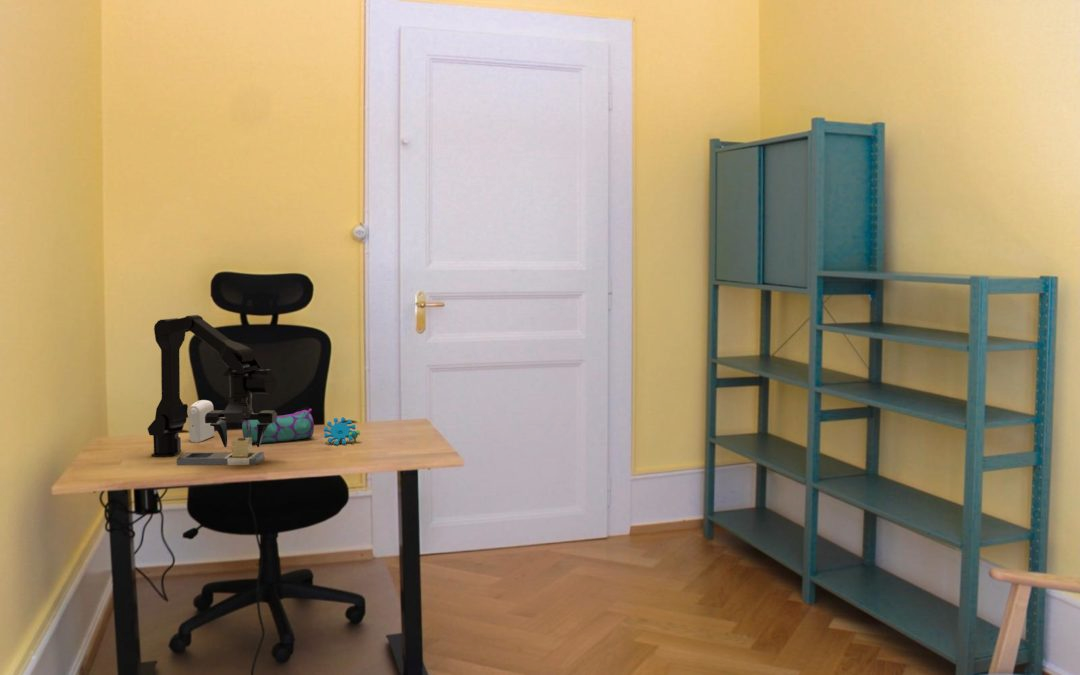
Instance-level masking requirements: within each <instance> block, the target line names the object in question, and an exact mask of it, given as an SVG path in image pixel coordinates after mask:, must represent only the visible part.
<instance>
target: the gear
mask: <svg viewBox="0 0 1080 675" xmlns="http://www.w3.org/2000/svg"><path fill="white" fill-rule="evenodd" d="M338 421H339V418H338V417H334V418H333V422H334V423H333V425H332V421H331V420H329V421H327V422H326V423H327V424H326V425H327V426H328V427H330V429H329V428H328V427H327V426H324V428H323V431H324V434H323V437H324V438H325V439H327V442H328V443H329V444H331V443H332V442H334V443H333V444H334V446H339V444H340V442H341V444H342V445H347V440H346V438H347V439H348V441H349V442H352V441H353V442H357V438H358V436H360V435H361V432H360V431H361V430H356V428H357V427H356V424H353V421H352V420H351V419H348V420H347V421H346V417H344V416H342V417H340V421H339V422H338ZM351 429H352V430H351Z"/></svg>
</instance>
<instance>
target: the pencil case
mask: <svg viewBox="0 0 1080 675" xmlns="http://www.w3.org/2000/svg"><path fill="white" fill-rule="evenodd" d="M311 412H312V408H309V409H308V410H307V409H303V410H300V411H296V412H294V413H289V414H284V415H277V420H276V421H274V422H273V423H271V424H270V425H268V426H267V428H266V430H265V433H264V435H263V438H262V441H261V444H265V443H269V444H270V443H281V442H289V441H290V442H291V441H296V440H302V439H303V440H304V439H311V438H313V435H314V430H315V429H314V428H315V424H314V418H313V416H312V414H311ZM259 423H260V422H259V421H258V420H243V422H241V427H242V428H241V429H242V438H252V444H257V433H258V428H257V424H259Z"/></svg>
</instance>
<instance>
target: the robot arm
mask: <svg viewBox="0 0 1080 675" xmlns="http://www.w3.org/2000/svg"><path fill="white" fill-rule="evenodd" d="M153 331H154V332H153V333H154V339H155V342H156V344H157V345H158V347H159V349H160V363H161V364H160V368H161V369H160V371H161V372H160V373H161V374H160V376H161V378H160V379H161V380H160V381H161V382H160V383H161V399H160V402H159V403H158V404H157V407H156V410H155V417H154V420H153V421H152V422H151V423H150V424H149V426H147V432H148V434H149V436H153V452H152V453H151V456H152V457H174V456H176V455H178V454H179V453H181V452H182V447H181V444H182V443H181V437H180V436H179V432H183V428H184V425H185V424H186V423H187V419H189V413H188V410H189V409H188V408H189V406H188V404H187V403H184V402H183V401H182V399H181V393H180V392H181V389H180V387H181V386H180V385H181V384H180V382H181V381H180V379H181V378H180V375H181V372H180V370H181V369H180V366H181V365H180V349H181V347H182V346H183V344H184V342H185V337H186V333H189V332H191V333H192V334H193V335H194V336H196V337H198V338H199V339H200V340H201V341H203V342H204V343H205V344H206V345H208V346H209V347H211V348H212V349H213V350H214V351H216V352H217V353H218V354H219V358H220V360H221V361H222V362H223V363H224V364H225V365H226V367H227V370H225V371H224V372H222V376H224V377H229V397H228V404H227V406H225V409H224V410H219V409H217V410H216V409H213V410H212V411H210V412H208V413H207V414H206V415H205V423H211V424H210V426H214V429H216V431H217V433H218V435H219V437H220V440H221V442H222V444H223V447H224V448H227V447H228V431H227V430H228V428H227V423H228V424H229V423H230V424H231V423H239V424H240V423H241V424H242V422H243V420H258V421H259V422H260V423H259V424H257V428H258V433H257V443H256V446H257V448H260V446H261V444H262V443H261V441H262V438H263V435H264V433H265V430H266V428H267V426H268V425H270V424H271V423H273V422H274V421H276V420H277V416H278V413H277V412H276V411H275V410H273V409H272V410H270V409H269V410H267V409H266V410H265V409H263V410H260V412H258V413H256V412H255V413H254V410H253V406H252V404H253V403H252V398H253V394H259V395H260V394H262V395H272V394H274V392H276V389H277V385H278V381H277V380H278V379H277V380H276V376H275V374H273V371H272V369H269V368H268V369H263V368H262V366H261V365H260V362H258V360H257V358H256V357H255V355H254V350H253V349H252V348H251V347H249V346H247V345H246V344H245V345H244V344H243V343H240V342H238V341H237V342H236V341H233V340H232V339H229V338H228V337H227V336H226V335H224V334H223V333H221V332H220V331H219V330H218V329H216V328H215V327H213V325H211V324H210V323H209V322H207V321H205V320H204V319H203V317H202V316H200V315H199V314H194V315H193V314H192V315H186V316H185V317H181V318H179V317H175V318H163V319H159V320H157V321H156V322H155V324H154V327H153Z"/></svg>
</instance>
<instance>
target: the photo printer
mask: <svg viewBox="0 0 1080 675" xmlns="http://www.w3.org/2000/svg"><path fill="white" fill-rule="evenodd" d="M188 408H189V409H188V430H189V431H188V432H189V436H188V437H189V441H190V442H191V443H200V442H203V441H206V440H208V439H210V438H212V437H214V436H215V427H214V426H210V424H211V423H205V415H206V414H207V413H208V412H210V411H212V410H214V404H213V402H212V401H211V400H207V399H201V400H200V399H199V400H197V401H195V402H194V403H192V404H191V405H190V406H189V407H188Z"/></svg>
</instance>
